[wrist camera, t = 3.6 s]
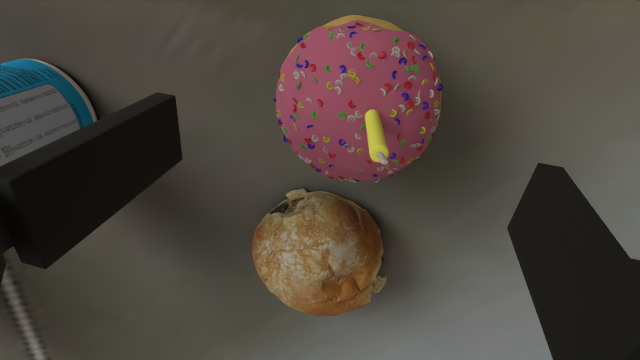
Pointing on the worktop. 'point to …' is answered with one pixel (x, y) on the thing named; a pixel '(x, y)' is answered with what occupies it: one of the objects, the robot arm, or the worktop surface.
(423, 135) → the cupcake
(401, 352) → the worktop surface
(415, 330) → the worktop surface
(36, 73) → the beverage bottle
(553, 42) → the worktop surface
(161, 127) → the robot arm
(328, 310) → the bread roll
